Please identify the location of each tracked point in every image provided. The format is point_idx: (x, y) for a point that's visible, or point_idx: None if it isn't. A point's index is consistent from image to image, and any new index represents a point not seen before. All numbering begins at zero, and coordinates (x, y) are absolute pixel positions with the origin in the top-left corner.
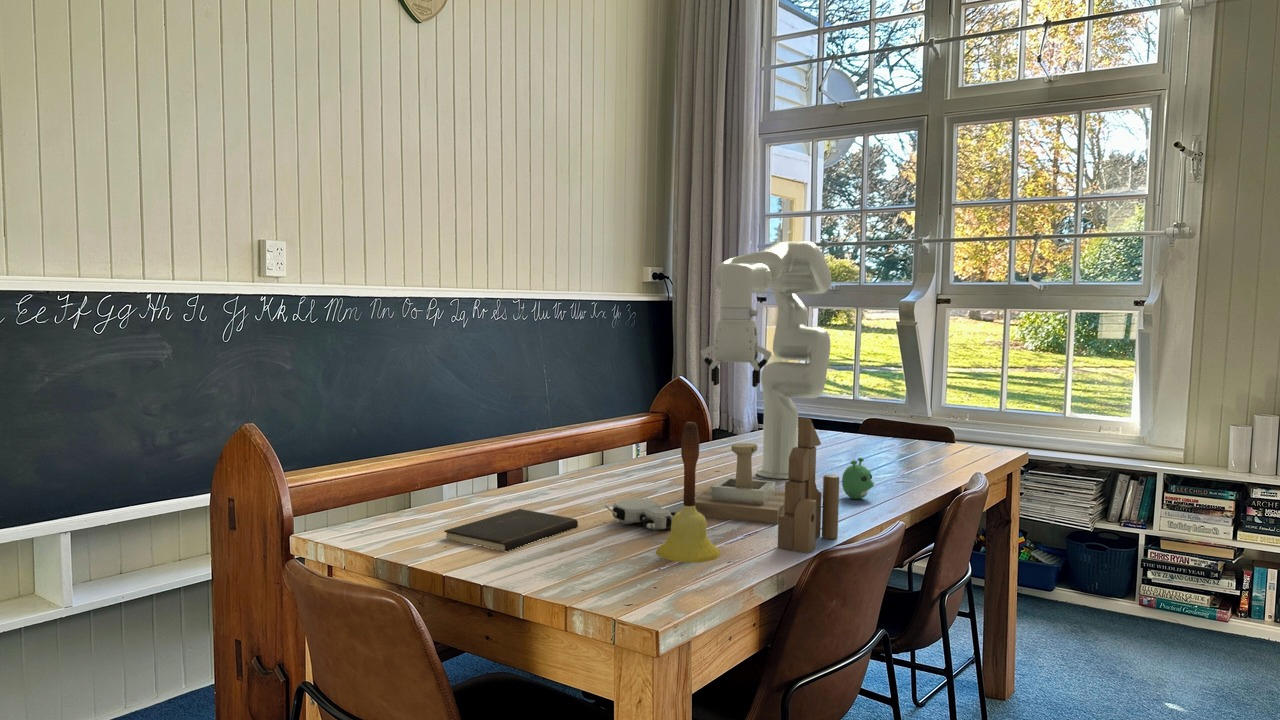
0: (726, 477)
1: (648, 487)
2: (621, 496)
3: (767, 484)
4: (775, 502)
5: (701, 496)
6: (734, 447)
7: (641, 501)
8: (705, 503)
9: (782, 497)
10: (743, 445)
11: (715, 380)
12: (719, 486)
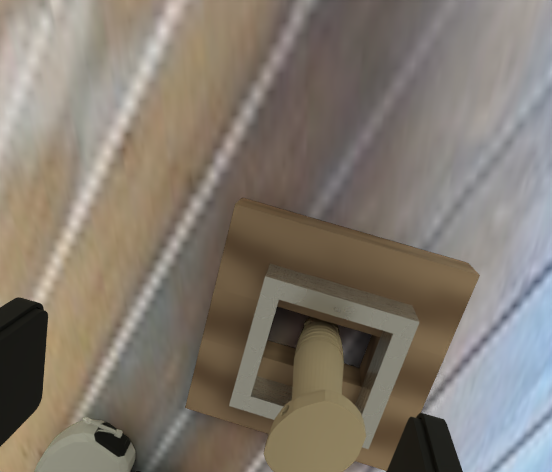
0: (267, 280)
1: (46, 92)
2: (8, 223)
3: (388, 366)
4: (399, 400)
5: (209, 353)
6: (275, 469)
7: (82, 463)
8: (223, 419)
9: (428, 344)
10: (309, 449)
11: (3, 431)
12: (249, 403)
